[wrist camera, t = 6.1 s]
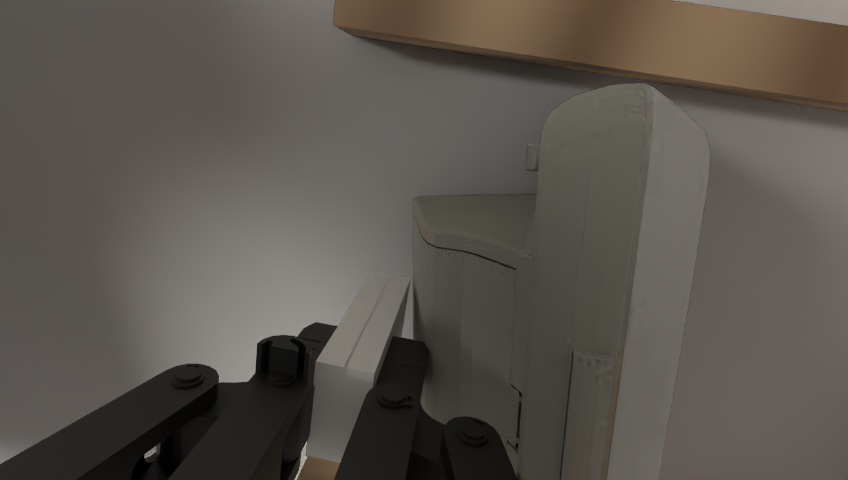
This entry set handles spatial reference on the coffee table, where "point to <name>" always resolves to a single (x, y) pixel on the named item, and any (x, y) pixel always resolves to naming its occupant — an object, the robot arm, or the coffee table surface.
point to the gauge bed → (621, 50)
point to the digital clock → (569, 289)
